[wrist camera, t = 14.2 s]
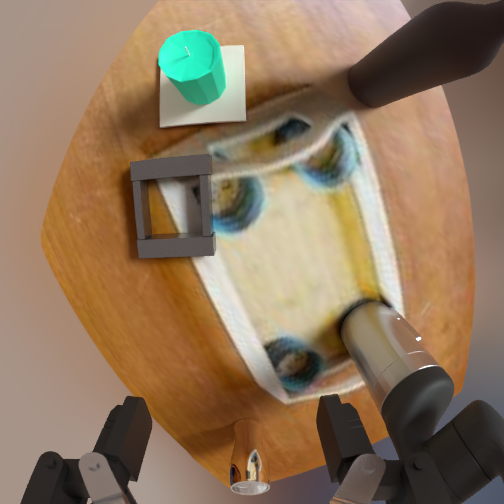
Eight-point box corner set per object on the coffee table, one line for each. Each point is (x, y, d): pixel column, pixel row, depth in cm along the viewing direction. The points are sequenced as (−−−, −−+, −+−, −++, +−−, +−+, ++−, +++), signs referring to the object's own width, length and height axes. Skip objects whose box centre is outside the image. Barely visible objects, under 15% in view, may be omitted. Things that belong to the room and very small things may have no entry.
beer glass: (252, 412, 47) (255, 477, 33) (272, 428, 49) (279, 488, 34) (223, 424, 48) (220, 486, 34) (244, 440, 50) (245, 498, 35)
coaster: (243, 48, 30) (243, 45, 29) (245, 121, 33) (246, 120, 33) (163, 55, 30) (161, 53, 29) (161, 128, 33) (159, 127, 32)
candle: (170, 87, 31) (140, 55, 19) (203, 56, 30) (187, 12, 18) (203, 114, 32) (184, 88, 21) (236, 81, 31) (233, 43, 19)
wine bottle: (398, 99, 33) (570, 54, 4) (362, 114, 33) (549, 59, 5) (375, 58, 31) (521, -31, 2) (337, 71, 32) (483, -47, 3)
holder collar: (211, 155, 35) (208, 154, 32) (216, 249, 38) (214, 255, 35) (138, 162, 34) (130, 162, 32) (146, 251, 38) (139, 258, 35)
